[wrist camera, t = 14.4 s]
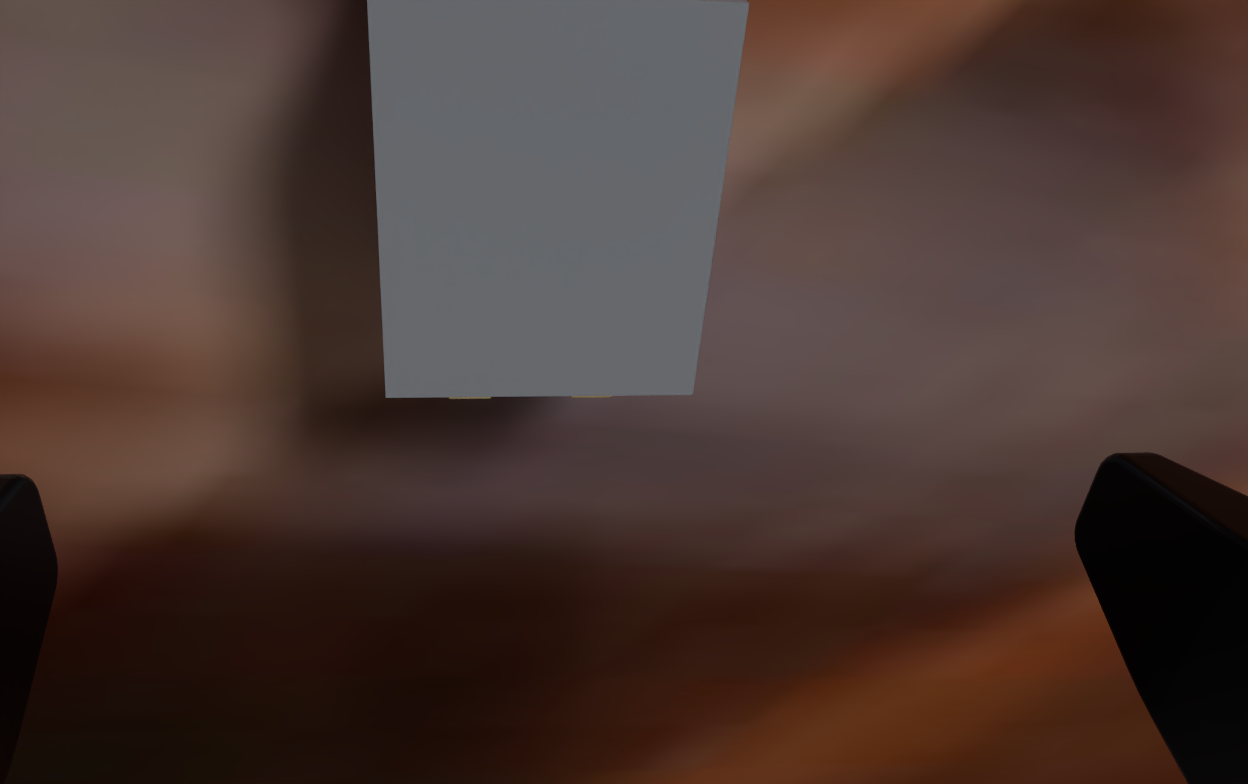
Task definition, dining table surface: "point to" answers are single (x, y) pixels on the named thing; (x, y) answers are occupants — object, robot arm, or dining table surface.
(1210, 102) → the dining table surface
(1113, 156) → the dining table surface
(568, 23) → the cable plug
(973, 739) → the dining table surface
